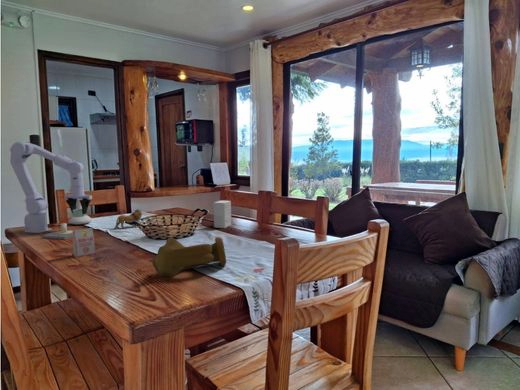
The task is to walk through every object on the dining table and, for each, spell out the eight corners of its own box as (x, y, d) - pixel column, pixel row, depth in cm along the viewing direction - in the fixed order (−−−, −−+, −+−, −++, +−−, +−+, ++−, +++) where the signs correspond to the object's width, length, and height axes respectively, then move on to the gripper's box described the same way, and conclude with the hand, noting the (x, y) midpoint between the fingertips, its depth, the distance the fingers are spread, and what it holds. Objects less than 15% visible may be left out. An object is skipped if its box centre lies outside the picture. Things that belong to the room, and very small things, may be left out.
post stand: (42, 238, 165) (41, 226, 164) (64, 231, 178) (63, 220, 177) (65, 239, 162) (64, 227, 162) (85, 232, 175) (84, 221, 174)
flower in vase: (71, 222, 200) (67, 177, 197) (93, 221, 204) (90, 177, 200) (66, 227, 188) (62, 179, 185) (90, 225, 191) (86, 178, 188)
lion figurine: (140, 224, 193) (139, 208, 192) (144, 226, 189) (143, 209, 188) (112, 228, 184) (111, 211, 182) (115, 230, 180) (114, 212, 178)
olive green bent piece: (160, 241, 129) (220, 229, 132) (166, 277, 127) (227, 264, 129) (148, 238, 111) (218, 224, 113) (154, 280, 109) (226, 265, 111)
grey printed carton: (73, 255, 138) (71, 229, 137) (92, 251, 142) (90, 227, 141) (76, 257, 135) (74, 231, 134) (95, 253, 140) (93, 228, 138)
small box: (220, 224, 193) (220, 200, 191) (231, 225, 191) (231, 200, 189) (213, 227, 185) (213, 202, 184) (224, 228, 183) (224, 202, 181)
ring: (70, 216, 179) (70, 210, 178) (78, 214, 184) (78, 208, 184) (80, 217, 178) (80, 210, 177) (88, 215, 183) (87, 209, 183)
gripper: (95, 185, 181) (97, 212, 183) (70, 185, 184) (72, 211, 186) (85, 187, 174) (87, 214, 176) (60, 186, 178) (62, 213, 179)
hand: (79, 213), depth 181 cm, fingers closed on ring, 6 cm apart
